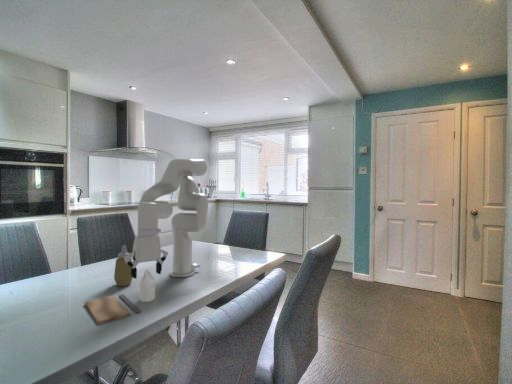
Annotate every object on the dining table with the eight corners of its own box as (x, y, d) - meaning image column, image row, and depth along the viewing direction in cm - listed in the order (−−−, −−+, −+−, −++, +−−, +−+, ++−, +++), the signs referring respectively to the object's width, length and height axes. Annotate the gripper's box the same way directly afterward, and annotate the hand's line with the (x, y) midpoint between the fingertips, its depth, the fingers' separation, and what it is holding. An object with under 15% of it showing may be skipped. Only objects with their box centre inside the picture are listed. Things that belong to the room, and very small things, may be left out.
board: (113, 297, 114) (113, 295, 114) (130, 315, 99) (130, 312, 99) (85, 304, 107) (85, 302, 107) (98, 324, 92) (98, 321, 92)
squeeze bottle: (137, 282, 131) (137, 244, 131) (123, 288, 123) (124, 248, 123) (123, 280, 134) (123, 243, 133) (109, 286, 126) (109, 246, 126)
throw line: (123, 295, 116) (123, 294, 116) (141, 312, 101) (141, 310, 101) (119, 296, 115) (119, 295, 115) (136, 313, 100) (136, 312, 100)
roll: (152, 272, 110) (137, 272, 109) (152, 302, 110) (137, 302, 110) (156, 267, 116) (142, 267, 115) (156, 296, 116) (142, 296, 116)
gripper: (164, 230, 121) (163, 269, 121) (121, 233, 109) (120, 277, 109) (172, 232, 115) (171, 273, 115) (128, 235, 103) (127, 282, 103)
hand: (146, 275), depth 112 cm, fingers open, 9 cm apart
